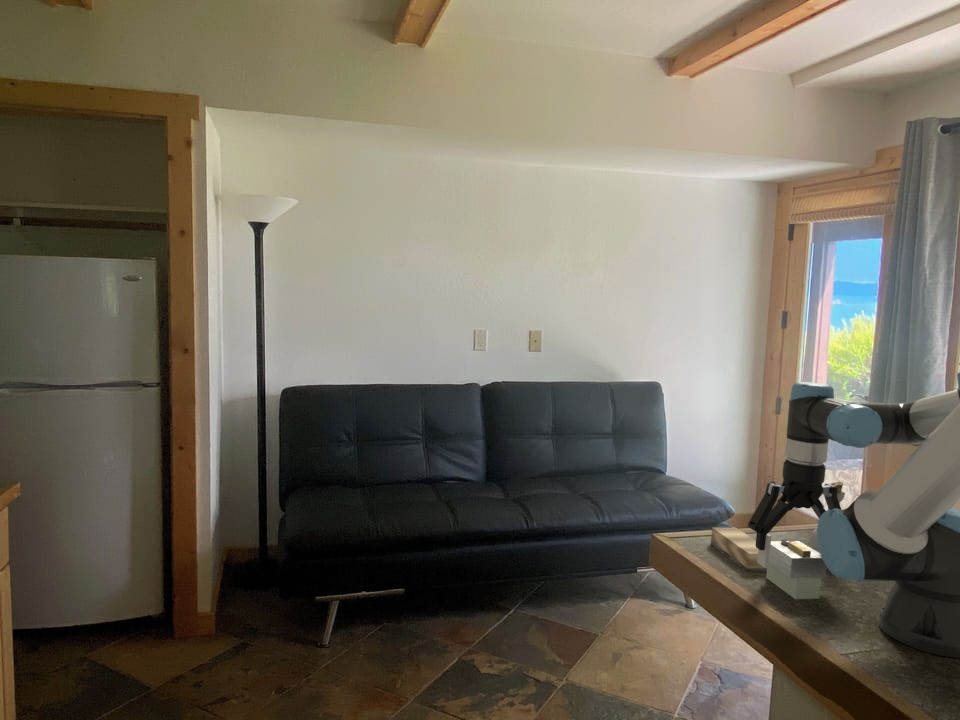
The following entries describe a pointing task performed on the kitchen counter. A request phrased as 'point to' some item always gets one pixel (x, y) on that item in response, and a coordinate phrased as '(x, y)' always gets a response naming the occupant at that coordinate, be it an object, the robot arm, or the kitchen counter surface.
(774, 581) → the block
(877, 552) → the robot arm
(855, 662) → the kitchen counter surface
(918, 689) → the kitchen counter surface
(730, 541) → the plane body
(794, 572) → the lever cap
